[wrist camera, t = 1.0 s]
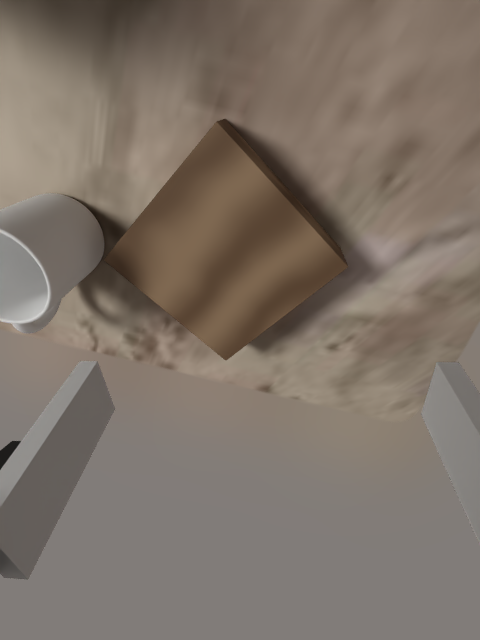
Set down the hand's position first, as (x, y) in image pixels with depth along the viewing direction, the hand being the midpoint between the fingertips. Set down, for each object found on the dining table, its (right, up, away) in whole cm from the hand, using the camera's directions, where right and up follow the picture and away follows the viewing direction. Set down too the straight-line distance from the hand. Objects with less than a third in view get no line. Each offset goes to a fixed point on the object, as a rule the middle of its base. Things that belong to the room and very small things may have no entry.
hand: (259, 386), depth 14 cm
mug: (-18, +10, +22) cm, 31 cm away
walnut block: (-2, +10, +20) cm, 23 cm away
